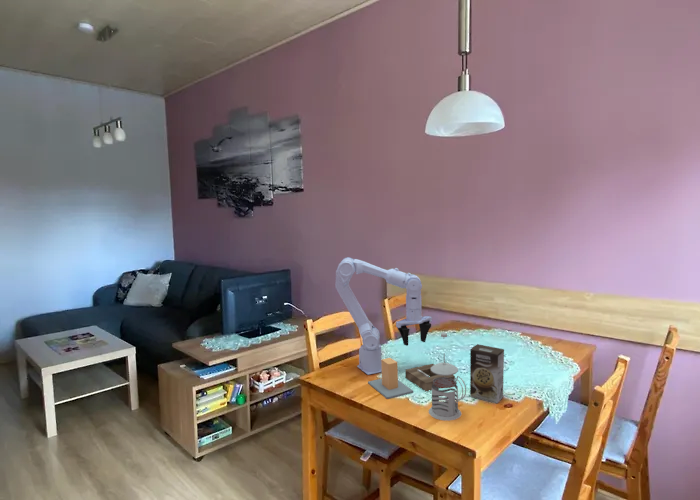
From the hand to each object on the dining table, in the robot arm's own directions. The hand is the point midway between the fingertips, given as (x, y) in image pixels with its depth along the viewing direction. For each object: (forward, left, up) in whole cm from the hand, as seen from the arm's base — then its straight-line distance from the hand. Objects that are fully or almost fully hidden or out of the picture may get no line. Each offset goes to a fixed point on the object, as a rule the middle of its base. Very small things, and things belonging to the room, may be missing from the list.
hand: (414, 343), depth 165 cm
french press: (+33, -10, -11) cm, 36 cm away
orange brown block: (+9, -16, -10) cm, 21 cm away
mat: (+9, -16, -10) cm, 21 cm away
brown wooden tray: (+11, -1, -10) cm, 15 cm away
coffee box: (+30, +8, -11) cm, 33 cm away
